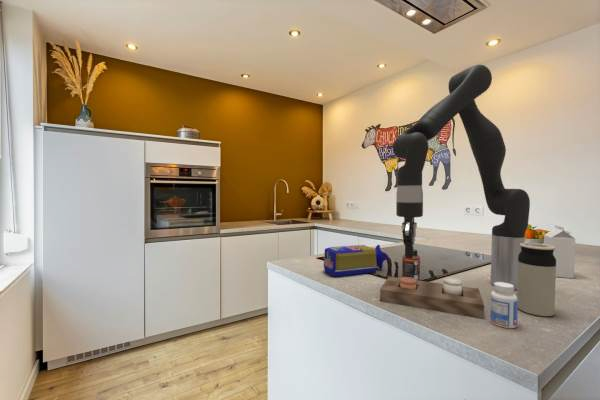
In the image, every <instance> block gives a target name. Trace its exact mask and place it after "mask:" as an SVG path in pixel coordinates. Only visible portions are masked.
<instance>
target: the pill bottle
mask: <svg viewBox="0 0 600 400" xmlns="http://www.w3.org/2000/svg"><path fill="white" fill-rule="evenodd" d="M493 289H494V290H492V291H491V292H490V322H491V323H492V324H494V325H496V326H498V327H501V328H505V329H515V328H516V327H517V326H518V308H517V303H518V300H517V294H515V293H514V292H515V290H514V286H513V285H512V284H509V283H504V282H495V283H494V285H493Z"/></svg>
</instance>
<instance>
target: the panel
mask: <svg viewBox="0 0 600 400" xmlns="http://www.w3.org/2000/svg"><path fill="white" fill-rule="evenodd" d="M400 278H401V277H394V276H387V278H386V280H385V281H384V282H383V284H382V286H381V287H380V290H379V300H380V302H384V303H390V304H395V305H396V304H397V305H403V306H408V307H413V308H419V309H425V310H430V311H431V310H432V311H438V312H442V313H443V312H444V313H449V314H455V315H461V316H467V317H471V318H479V319H485V315H484V314H485V304H484V302H483V301H484V300H483V298H482V295H481V294H482V293H481V292H480V289H479V288H478V287H469V286H464V285H462V296H455V295H448V294H444V283H439V282H433V281H427V280H426V281H424V280H419V281H418V280H416V290H414V289H408V288H401V287H400Z"/></svg>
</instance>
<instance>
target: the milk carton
mask: <svg viewBox="0 0 600 400" xmlns="http://www.w3.org/2000/svg"><path fill="white" fill-rule="evenodd" d="M543 235H544V236H543V244H546V245H551V246H554V247H555V249H554V251H553V255H554V257H555V258H556V278H565V279H574V278H575V257H576V256H575V255H576V254H575V252H576V238H575V237H574V236H572V235H571V232H570V231H569V230H568V229H565V227H563V226H558V225H555V226H554V228H553V229H551V230H550V231H548V232H546V233H545V234H543Z"/></svg>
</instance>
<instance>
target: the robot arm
mask: <svg viewBox="0 0 600 400" xmlns="http://www.w3.org/2000/svg"><path fill="white" fill-rule="evenodd" d="M492 80H493V77H492V71H491V70H490V69H489V67H488V66H486V65H484V64H475V65H473V66H470V67H467V68H465V69H464V70H462V71H460V72H458V73H456V74H454V75H453V76H451V77H450V78H449V81H448V92H449V94H448V95H447V96H445V97H444V98H443V99H441V100H440V101H439V102H437V103H436V104H434V105H433V106H432V107H431V108H430V109H428V110H427V111H426V112H425V113H424V114H423V115H422V116H421V117H420V118H419V119H418V121H416V123H415V124H413V125H412V126H409V127H408V128H407V129H406V130H405V131H403V132H402V133H400V134H399V135H398V137H396V139H395V140H394V141H393V144H392V152H393V154H394V156H396V157H397V158H399V159H405V162H404V165H402V166H400V167H399V168H398V170H397V178H396V179H397V181H396V183H397V184H396V185H397V188H396V193H395V194H396V198H395V199H396V205H395V206H396V212H395V214H396V215H395V216H397V217H401V218H404V219H403V221H402V223H401V229H402V230H401V232H402V239H403V241H402V242H403V246H405V247H404V255H405V257H406V258H413V249H414V245H415V242H416V239H415V238H416V236H417V228H418V227H417V226H418V225H417V224H418V223H417V222H415V218H422V217H423V215H424V192H423V170H424V167H425V164H426V160H427V156H428V152H429V142H428V141H430V140H432V139H433V138H435V137H436V136H437V135H438V134H439V133H440V132H441V131H442V130H443V129H444V128H445V126H447V124H448V123H450V122H451V121H452V120H453V118H455V117H456V116H457V115H459V117H460V120H461V122H462V125H463V128H464V130H465V133H466V135H467V139H468V142H469V146H470V149H471V152H472V155H473V157H474V160H475V163H476V165H477V168H478V169H477V170H478V172H479V176H480V179H481V183H482V188H483V193H484V198H485V201H486V205H487V208H488V210H489V211H490V212H491V213H493V214H494V215H498V216H504V219H503V222H502V223H500V224H496V225H494V226H492V228H491V249H490V250H491V254H490V255H491V256H490V259H491V260H490V284H491V285H492V286H494V283H495V282H504V283H509V284H512V285H513V286H514V291H515V290H516V291H517V278H518V255H519V253H520V252H521V251H522V250H521V246H520V243H526V242H525V241H526V232H527V229H528V227H529V220H530V218H529V217H530V209H531V207H530V206H531V204H530V203H531V200H530V197H529V196H530V195H529V194H528V193H527V192H526V190H524V189H521V188H505V186H504V183H503V179H502V175H501V172H502V171H501V170H502V169H503V164H504V161H505V158H506V152H507V149H506V143H505V142H504V138H503V135H502V132H501V130H500V129H499V128H498V126H497V125H496V124H494V123H493V122H492V121H491V120H490V119H489V118H487V117H486V116H485V115H484V114H483V113H482V112H481V111H480V109H479V108H478V106H477V103H476V101H475V100H476V99H477V98H478V97H480V96H482V95H483V94H484V93H485V92H487V91H488V90H489V88H490V86H491V84H492Z"/></svg>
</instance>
